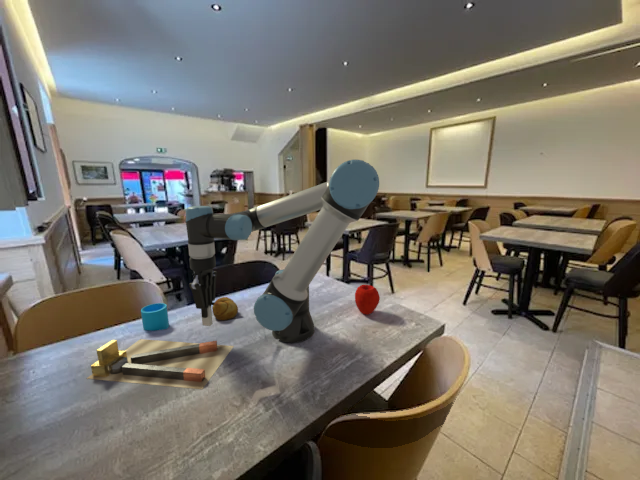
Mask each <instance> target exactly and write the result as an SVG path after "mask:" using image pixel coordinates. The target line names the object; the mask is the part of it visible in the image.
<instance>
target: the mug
mask: <svg viewBox="0 0 640 480" xmlns="http://www.w3.org/2000/svg"><path fill="white" fill-rule="evenodd" d="M140 309H141V310H140V313H141V322H142V328H143V331H153V332H157V331H163V330H167V329H169V327H170V324H169V323H170V322H169V314H168V305H167V304H166V303H164V302H157V303H156V302H155V303H151V304H148V305H145V306H144V307H141V308H140Z"/></svg>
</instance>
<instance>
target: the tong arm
mask: <svg viewBox="0 0 640 480" xmlns="http://www.w3.org/2000/svg"><path fill="white" fill-rule="evenodd" d="M217 345H218V340H212V341H206V342H200V344H195V345H189V346H183V347H177V348H171V349H165V350H159V351H153V352H147V353H141V354H135V355H132V357H131V364H144V363H150V362H155V361H161V360H167V359H172V358H178V357H184V356H189V355H195V354H202V353H208V352H213V351H217Z"/></svg>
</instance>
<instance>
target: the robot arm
mask: <svg viewBox="0 0 640 480" xmlns="http://www.w3.org/2000/svg"><path fill="white" fill-rule="evenodd" d="M379 177H380V176H379V174H378V172H377V170H376V169H375V167H374V166H372V165H371V164H370V163H368V162H366V161H364V160H362V159H350V160H347V161H344V162H342V163H340V165H338V166H337V167H336V168H334V170H333V172H332V174H331V176H329V179H328V181H326V182H323V183H319V184H318V185H317V184H316V185H315V186H312V187H309V188H306V189H303V190H301V191H298V192H297V191H296V192H294V193H292V194H289V195H285V196H283V197H281V198H278V199H275V200H272V201H269V202H266V203H264V204H261V205H259V206H255V207H252V208H250V209H249V208H248V209H246V210H243V211H238V212H233V213H214V212H213V208H212V207H211V206H208V205H195V206H193V205H192V206H188V207H187V208H186V209H185V225H186V233H187V247H188V256H189V258H188V261H189V268H190V270H192V271H193V281H192V282H190V283H189V284H188V287H189V288H190V290H191V294H192V297H193V300H194V305H195V308H196V309H198V310H200V311H201V312H200V313H201V321H202V322H201V323H202V326H205V327H211V326H212V325H213V323H214V322H213V309H212V306H213V305H214V304H215V301H216V288H217V286H216V285H217V276H218V271H217V270H214V268H216V266H217V265H216V264H217V263H216V262H217V261H216V256H215V254H216V248H215V239H218V240H231V241H245V240H248V239H249V238H250V235H251V234H252V233H253V232H256V231H258V230H262V229H265V228H267V227H270V226H273V225H277V224H280V223H283V222H286V221H289V220H292V219H295V218H299V217H302V216H304V215H308V214H311V213H314V212H317V211H319V212H318V213H317V215H316V216H315V218H314V220H313V221H312V223H311V225H310V226H309V228H308V230H307V231H306V233H305V235H304V236H303V238H302V239H301V241H300V243H299V244H298V246H297V248H295V249H296V250H295V251H294V253H293V254H292V256H291V257H290V259H289V261H288V262H287V264H286V266H285V267H284V269H279V270H277V271H276V272H275V274H274V276H273V277H272V279H271V280H270V282H269V283H268V286H267V287H266V288H265V290H264V291H263V293H262V294H261V295H260V296H259V297H257V298H256V301H255V303H254V305H253V315H255V319H256V322H258V323H259V325H261V326H262V327H263V328H264V329H267V330H268V331H272V332H271V333H272V336H273V337H274V338H275V339H276V340H278V341H280V342H282V343H283V342H284V343H289V344H294V343H295V344H296V343H300V342H305V341H306V340H308V339H310V338H311V337H312V336H313V335H314V333H315V323H314V320H313V317H312V314H311V312H310V284H311V283H312V281H313V280H314V278H315V277H316V275H317V274H318V272H319V271H320V270H321V267H323V265H324V263H325V261H326V260H327V258H328V257H329V255H330V254H331V252H332V251H333V249H335V246H337V245H336V244H338V242H339V240H340V239H341V237H342V236H343V234H344V232H345V231H346V229H348V227H349V225H350V223H356V222H358V221H359V220H360V219H361V217H362V215H363V214H364V213H365V211H366V210H367V208H368V206H369V205H370V204H371V203H372V202H373V200H374V199H375V198H376V196H377V194H378V192H379V189H380V188H379V187H380V178H379Z"/></svg>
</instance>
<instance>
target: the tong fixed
mask: <svg viewBox="0 0 640 480" xmlns="http://www.w3.org/2000/svg"><path fill="white" fill-rule="evenodd" d="M108 368H109V373H110V374H118V373H121V372H122V373H123V375H132V376H143V377H154V378H165V379H176V380H184V381H195V382H202V381H203V380H204V379H205V369H196V368H177V367H166V366H154V365H142V364H130V363H128V360H127V357H120V358H118V359H117V360H116V361H114V362H113V363H112V364H110V365H109V366H108Z"/></svg>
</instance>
